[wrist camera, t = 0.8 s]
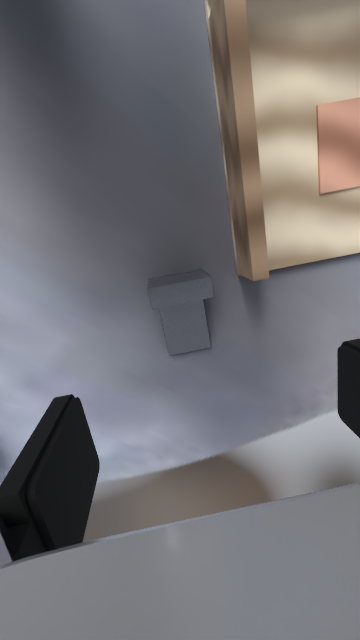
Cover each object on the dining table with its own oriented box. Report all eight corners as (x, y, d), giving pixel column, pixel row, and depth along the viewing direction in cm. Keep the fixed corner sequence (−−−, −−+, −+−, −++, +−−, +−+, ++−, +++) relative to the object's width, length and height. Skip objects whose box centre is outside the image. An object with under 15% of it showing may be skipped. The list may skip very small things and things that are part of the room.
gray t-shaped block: (148, 279, 32) (147, 288, 26) (200, 269, 32) (211, 276, 27) (164, 351, 35) (166, 374, 29) (212, 341, 35) (223, 362, 29)
